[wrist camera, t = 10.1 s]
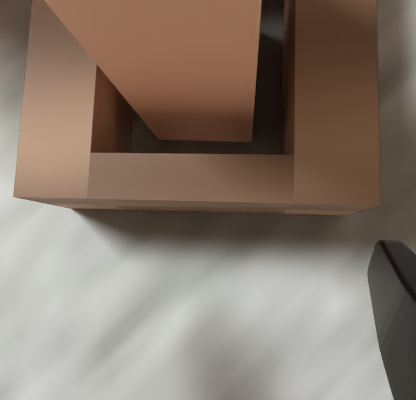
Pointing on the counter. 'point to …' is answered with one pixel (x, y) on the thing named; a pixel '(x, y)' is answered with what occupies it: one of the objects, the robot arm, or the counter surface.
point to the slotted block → (209, 163)
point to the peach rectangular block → (175, 60)
